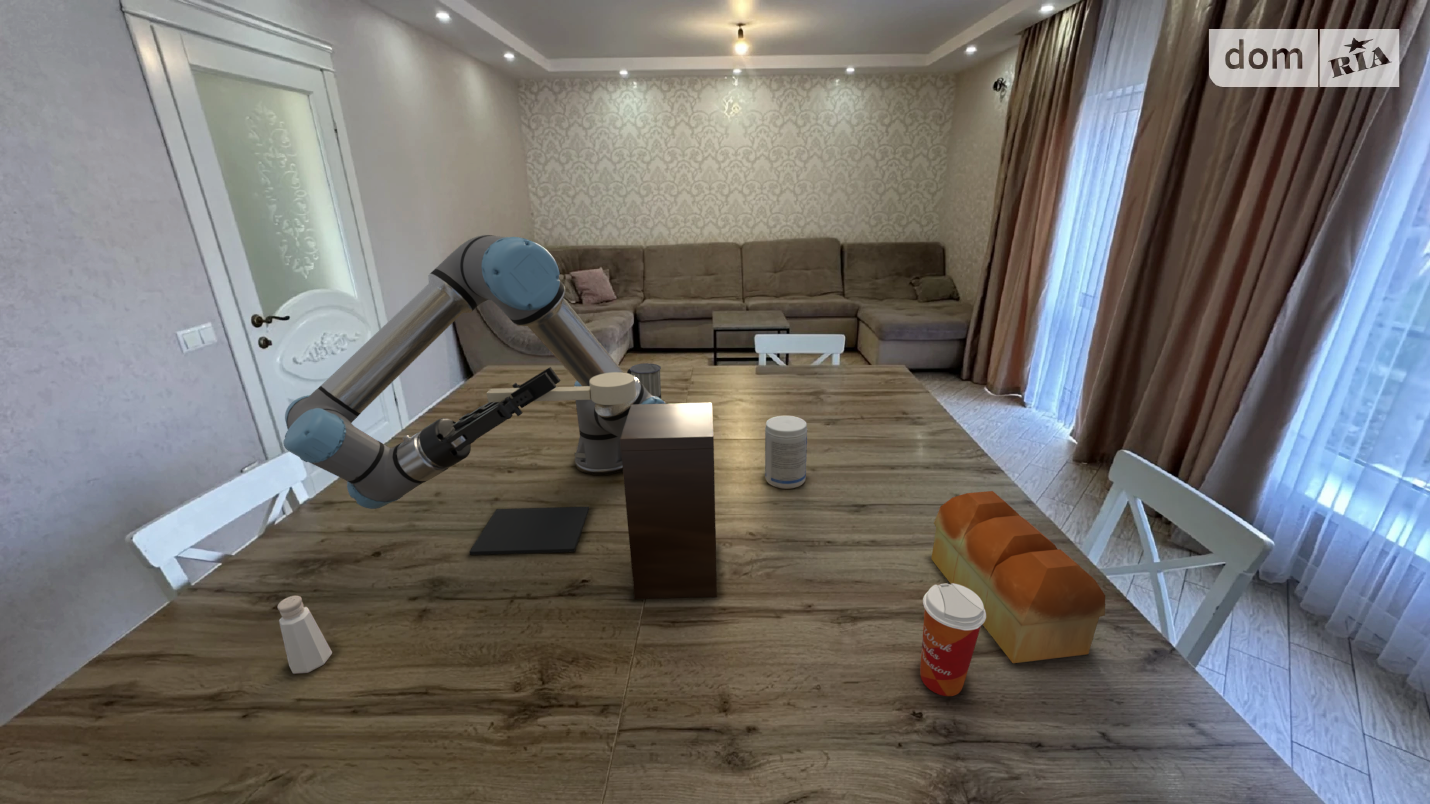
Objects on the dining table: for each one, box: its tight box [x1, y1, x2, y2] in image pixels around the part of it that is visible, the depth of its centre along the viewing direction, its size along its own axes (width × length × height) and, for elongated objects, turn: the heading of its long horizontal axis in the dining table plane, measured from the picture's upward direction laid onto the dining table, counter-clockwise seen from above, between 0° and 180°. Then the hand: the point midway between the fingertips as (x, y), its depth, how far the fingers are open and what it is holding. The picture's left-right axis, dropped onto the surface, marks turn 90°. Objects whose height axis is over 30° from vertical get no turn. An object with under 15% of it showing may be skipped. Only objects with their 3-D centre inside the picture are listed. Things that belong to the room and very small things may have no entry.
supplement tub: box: [764, 415, 808, 490], centre depth 127 cm, size 10×10×15 cm
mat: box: [469, 506, 590, 556], centre depth 112 cm, size 15×20×1 cm
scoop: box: [485, 372, 636, 405], centre depth 87 cm, size 7×23×3 cm, turn 91°
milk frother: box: [626, 362, 662, 399], centre depth 166 cm, size 14×16×15 cm
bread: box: [930, 490, 1106, 664], centre depth 88 cm, size 25×12×15 cm, turn 7°
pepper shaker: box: [277, 595, 333, 675], centre depth 80 cm, size 5×5×11 cm
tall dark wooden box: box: [620, 402, 718, 600], centre depth 94 cm, size 14×14×30 cm
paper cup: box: [919, 582, 986, 697], centre depth 74 cm, size 8×8×14 cm
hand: (552, 377), depth 86 cm, fingers closed on scoop, 2 cm apart
